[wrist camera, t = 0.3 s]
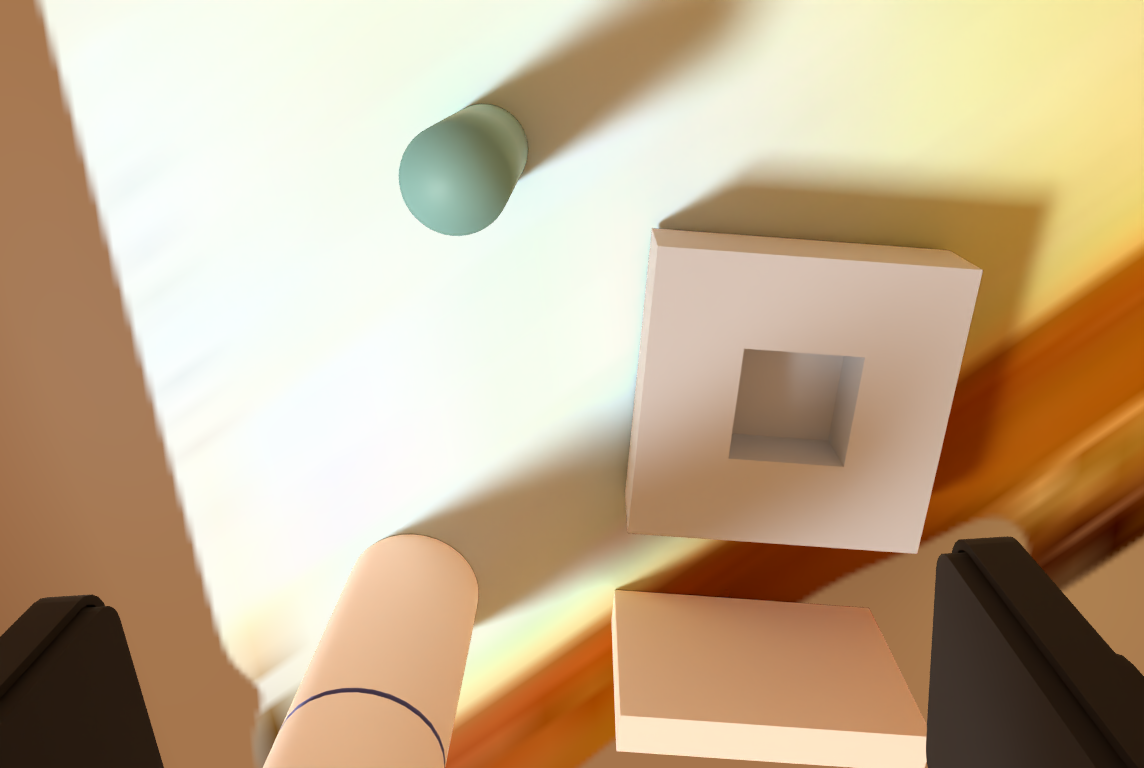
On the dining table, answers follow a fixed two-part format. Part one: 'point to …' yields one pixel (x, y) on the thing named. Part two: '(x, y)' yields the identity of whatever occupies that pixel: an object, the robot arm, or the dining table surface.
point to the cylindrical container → (386, 663)
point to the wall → (760, 683)
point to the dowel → (463, 169)
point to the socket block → (794, 389)
